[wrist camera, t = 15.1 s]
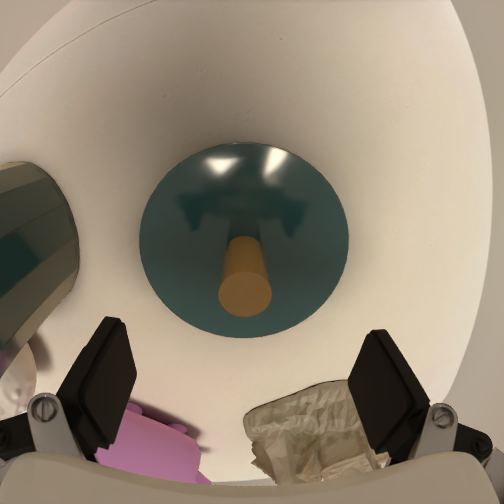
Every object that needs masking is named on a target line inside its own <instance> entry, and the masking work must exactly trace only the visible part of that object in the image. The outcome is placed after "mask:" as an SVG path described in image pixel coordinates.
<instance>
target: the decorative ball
mask: <svg viewBox="0 0 504 504" xmlns="http://www.w3.org/2000/svg"><path fill="white" fill-rule="evenodd" d="M35 387H36V365H35V361H34V357H33V354H32V351H31V349H30V346H29V344H28V343H26V344H25V346H24V347H23V348H22V349H21V351H20V352H19V353H18V355H17V356H16V357H15V359H14V360H13V362H12V363H11V364H10V366H9V367H8V369H7V370H6V372H5V373H4V374H3V376H2V377H1V379H0V419H7V418H11V417H12V416H17V415H19V414H20V413H22V412H23V411H25V410H26V407H27V406H28V403H29V402H30V400H31V399H32V397H33V395H34V392H35Z"/></svg>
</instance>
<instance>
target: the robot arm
mask: <svg viewBox="0 0 504 504" xmlns="http://www.w3.org/2000/svg"><path fill="white" fill-rule="evenodd" d="M136 377H137V371H136V367H135V363H134V359H133V355H132V352H131V348H130V343H129V339H128V335H127V330H126V326H125V323H123V322H121V320H120V318H115V317H108V316H106V317H105V318H104V319H103V320H102V322H101V323H100V325H99V326H98V328H97V329H96V331H95V333H94V334H93V336H92V337H91V339H90V340H89V342H88V344H87V345H86V346H85V347H84V348H83V349H82V351H81V352H80V354H79V355H78V357H77V359H76V360H75V362H74V364H73V365H72V367H71V369H70V370H69V372H68V374H67V376H66V377H65V379H64V381H63V383H62V384H61V386H60V388H59V390H58V392H57V393H56V395H53V394H51V393H40V394H38V395H35V396H34V397H33V398H32V399H31V400H30V402H29V403H28V406H27V412H26V413H23V414H20V415H17V416H14V417H11V418H7V419H4V420H1V421H0V504H504V453H502V452H501V451H500V450H498V449H497V448H496V447H495V448H494V449H492V448H493V445H492V441H491V439H490V438H489V436H488V435H487V434H485V433H483V432H480V431H478V430H475V429H473V428H470V427H467V426H465V425H462V424H460V423H458V417H457V414H456V412H455V410H454V409H453V408H452V407H451V406H449V405H447V404H444V403H436V404H433V405H432V406H430V404H429V402H430V400H429V398H428V396H427V394H426V393H425V391H424V389H423V388H422V386H421V384H420V382H419V381H418V379H417V377H416V376H415V374H414V373H413V371H412V369H411V368H410V366H409V364H408V363H407V361H406V360H405V358H404V356H403V355H402V353H401V352H400V350H399V349H398V347H397V346H396V344H395V342H394V341H393V339H392V338H391V336H390V335H389V333H388V332H387V331H386V330H385V329H379V330H372V331H371V332H370V333H369V334H367V335H366V337H365V340H364V342H363V345H362V347H361V350H360V352H359V355H358V357H357V360H356V362H355V364H354V367H353V369H352V371H351V373H350V376H349V378H348V388H349V390H350V393H351V396H352V398H353V401H354V404H355V407H356V409H357V412H358V415H359V418H360V420H361V423H362V426H363V429H364V432H365V435H366V437H367V440H368V443H369V446H370V448H371V449H374V451H375V454H376V455H378V454H382V453H385V452H388V455H389V458H388V460H387V462H386V465H385V467H384V468H381V469H377V470H373V471H369V472H365V473H361V474H356V475H352V476H347V477H342V478H336V479H331V480H324V481H318V482H310V483H301V484H291V485H277V486H220V485H206V484H196V483H187V482H179V481H173V480H166V479H161V478H155V477H150V476H145V475H141V474H136V473H132V472H128V471H123V470H120V469H116V468H112V467H109V466H105V465H102V464H101V463H100V461H99V459H98V457H97V455H96V453H97V450H98V447H99V448H103V449H106V450H109V446H110V444H111V445H113V444H114V443H115V440H116V437H117V434H118V430H119V427H120V424H121V421H122V418H123V415H124V412H125V409H126V406H127V403H128V400H129V397H130V395H131V392H132V389H133V386H134V383H135V381H136Z"/></svg>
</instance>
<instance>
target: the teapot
mask: <svg viewBox="0 0 504 504" xmlns="http://www.w3.org/2000/svg"><path fill="white" fill-rule="evenodd" d="M186 431H187V428H186V427H185V426H183V425H180V424H176V423H171V424H168V426H166V425H164V424H162V423H159V422H157V421H155V420H152V419H150V418H147V417H145V416H142V409H141V408H140V407H139V406H138V405H136V404H133V403H130V402H128V403H127V406H126V409H125V412H124V415H123V418H122V421H121V424H120V427H119V430H118V434H117V437H116V440H115V443H114V444H113V445H111V444H110V446H109V450H106V449H103V448H99V447H98V450H97V453H96V455H97V457H98V459H99V461H100V463H101V464H102V465H105V466H109V467H112V468H116V469H120V470H123V471H128V472H132V473H136V474H141V475H145V476H150V477H155V478H161V479H166V480H173V481H179V482H187V483H196V484H206V485H211V481H209V480H208V479H207V478H206V477H205V476H204V475H203V474H202V473H201V472H199V471H198V469H199V464H200V458H201V454H200V450H199V448H198V445H197V443H196V441H195V440H194V439H192V438H191V437H189V436H187V435H185V434H184V433H185V432H186Z"/></svg>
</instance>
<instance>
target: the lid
mask: <svg viewBox="0 0 504 504" xmlns="http://www.w3.org/2000/svg"><path fill="white" fill-rule="evenodd" d="M139 239H140V254H141V261H142V264H143V267H144V271H145V274H146V276H147V278H148V280H149V283H150V285H151V286H152V288H153V290H154V291H155V293H156V294H157V296H158V297H159V298H160V299H161V301H162V302H163V303H164V304H165V305H166V306H167V307H168V308H169V309H170V310H171V311H172V312H173V313H174V314H176V315H177V316H178V317H180V318H181V319H182V320H184V321H185V322H187V323H189V324H190V325H192V326H194V327H196V328H199V329H201V330H203V331H206V332H209V333H212V334H215V335H220V336H225V337H233V338H254V337H263V336H267V335H272V334H275V333H278V332H281V331H284V330H287V329H289V328H291V327H293V326H295V325H297V324H299V323H300V322H302V321H304V320H305V319H307V318H308V317H309V316H311V315H312V314H313V313H314V312H316V311H317V310H318V309H319V308H320V307H321V306H322V305H323V304H324V303H325V301H326V300H327V299H328V298H329V296H330V295H331V294H332V292H333V291H334V289H335V287H336V286H337V284H338V282H339V280H340V278H341V276H342V273H343V270H344V267H345V264H346V260H347V254H348V245H349V234H348V226H347V220H346V216H345V213H344V209H343V207H342V205H341V202H340V200H339V198H338V196H337V194H336V193H335V191H334V189H333V188H332V186H331V185H330V184H329V182H328V181H327V180H326V179H325V178H324V176H323V175H322V174H321V173H320V172H319V171H318V170H316V169H315V168H314V167H313V166H312V165H311V164H309V163H308V162H306V161H305V160H303V159H302V158H300V157H299V156H297V155H295V154H293V153H290V152H288V151H286V150H284V149H281V148H277V147H274V146H271V145H266V144H259V143H247V142H237V143H229V144H222V145H218V146H215V147H211V148H208V149H205V150H203V151H200V152H198V153H196V154H194V155H192V156H190V157H189V158H187V159H185V160H184V161H182V162H181V163H179V164H178V165H177V166H176V167H174V168H173V169H172V170H171V171H170V172H169V173H168V174H167V175H166V176H165V177H164V178H163V179H162V180H161V182H160V183H159V184H158V185H157V187H156V189H155V190H154V192H153V193H152V195H151V196H150V199H149V201H148V203H147V205H146V208H145V210H144V214H143V217H142V221H141V227H140V235H139Z"/></svg>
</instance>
